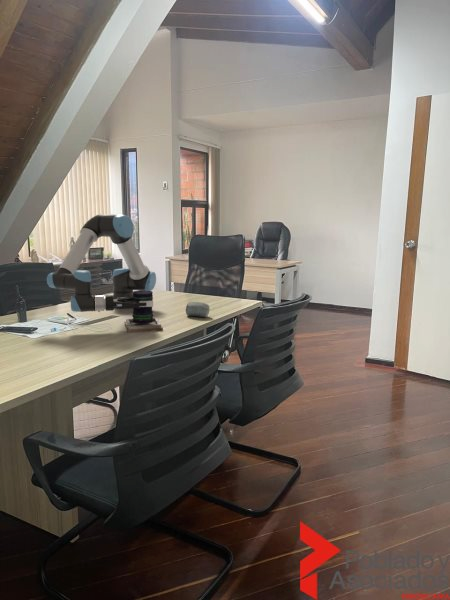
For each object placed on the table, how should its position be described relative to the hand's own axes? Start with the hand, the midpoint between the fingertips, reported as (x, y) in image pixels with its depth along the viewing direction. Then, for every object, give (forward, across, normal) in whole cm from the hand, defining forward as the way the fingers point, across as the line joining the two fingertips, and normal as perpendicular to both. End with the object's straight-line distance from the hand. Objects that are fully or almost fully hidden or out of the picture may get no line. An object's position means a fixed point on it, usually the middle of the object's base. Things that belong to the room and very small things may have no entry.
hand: (151, 301), depth 212 cm
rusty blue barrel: (-4, 0, -10) cm, 11 cm away
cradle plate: (-4, 0, -13) cm, 13 cm away
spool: (+28, -18, -13) cm, 36 cm away
